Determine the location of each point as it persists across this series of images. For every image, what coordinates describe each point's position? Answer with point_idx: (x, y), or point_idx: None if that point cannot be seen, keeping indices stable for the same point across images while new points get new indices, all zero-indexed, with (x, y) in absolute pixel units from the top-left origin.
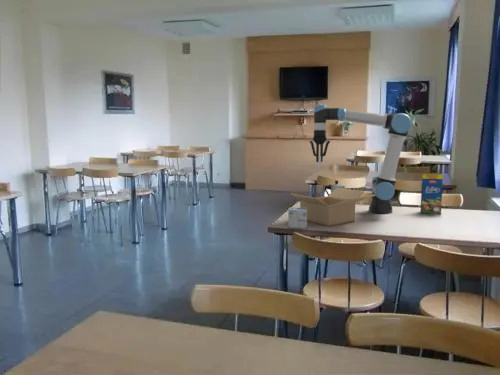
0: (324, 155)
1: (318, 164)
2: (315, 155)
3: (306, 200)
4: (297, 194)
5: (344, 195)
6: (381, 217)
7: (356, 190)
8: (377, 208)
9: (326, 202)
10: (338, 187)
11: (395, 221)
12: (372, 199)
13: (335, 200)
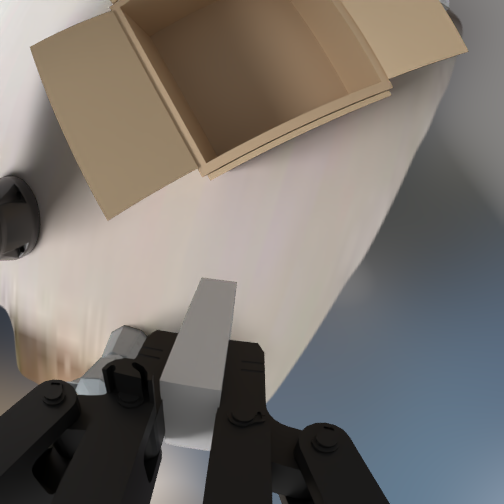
0: (64, 387)
1: (233, 304)
2: (307, 430)
3: (379, 13)
4: (441, 4)
5: (115, 86)
6: (34, 112)
7: (43, 82)
8: (13, 189)
9: (210, 160)
10: (94, 376)
11: (26, 53)
12: (3, 227)
13: (172, 99)
